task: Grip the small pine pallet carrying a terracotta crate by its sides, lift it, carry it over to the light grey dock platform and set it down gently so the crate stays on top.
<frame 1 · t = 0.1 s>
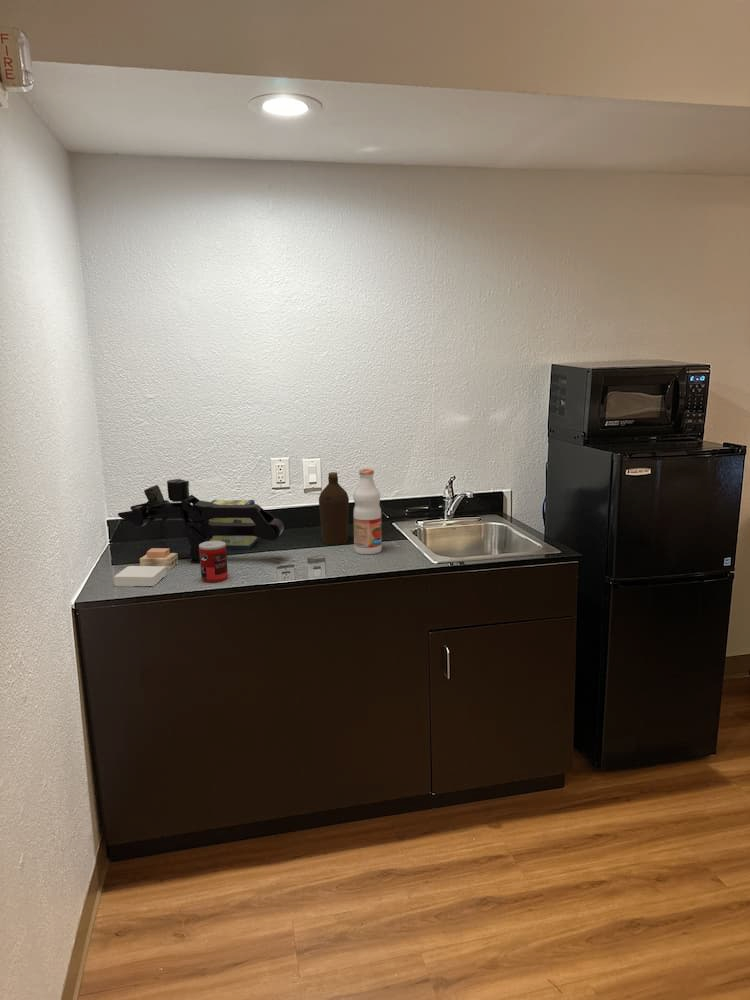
hand: (124, 511, 225), 17 cm above the countertop, tool horizontal, fingers open, 9 cm apart
olive oil: (335, 541, 245), on the countertop
fruit juice: (368, 551, 233), on the countertop
protein box: (232, 545, 242), on the countertop
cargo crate: (158, 556, 220), point 3 cm above the countertop, touching pallet
canned food: (214, 579, 208), on the countertop
dock: (141, 580, 207), on the countertop
pallet: (159, 566, 221), on the countertop, touching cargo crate
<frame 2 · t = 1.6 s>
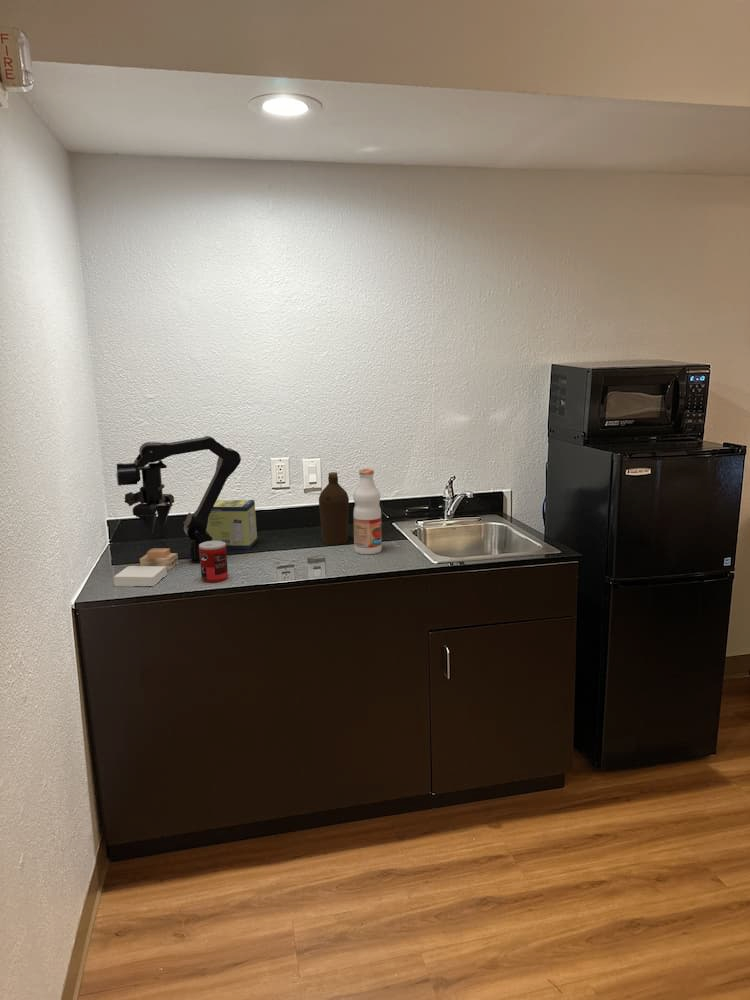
hand: (156, 530, 218), 12 cm above the countertop, tool pointing down, fingers open, 9 cm apart
nothing on the countertop moved.
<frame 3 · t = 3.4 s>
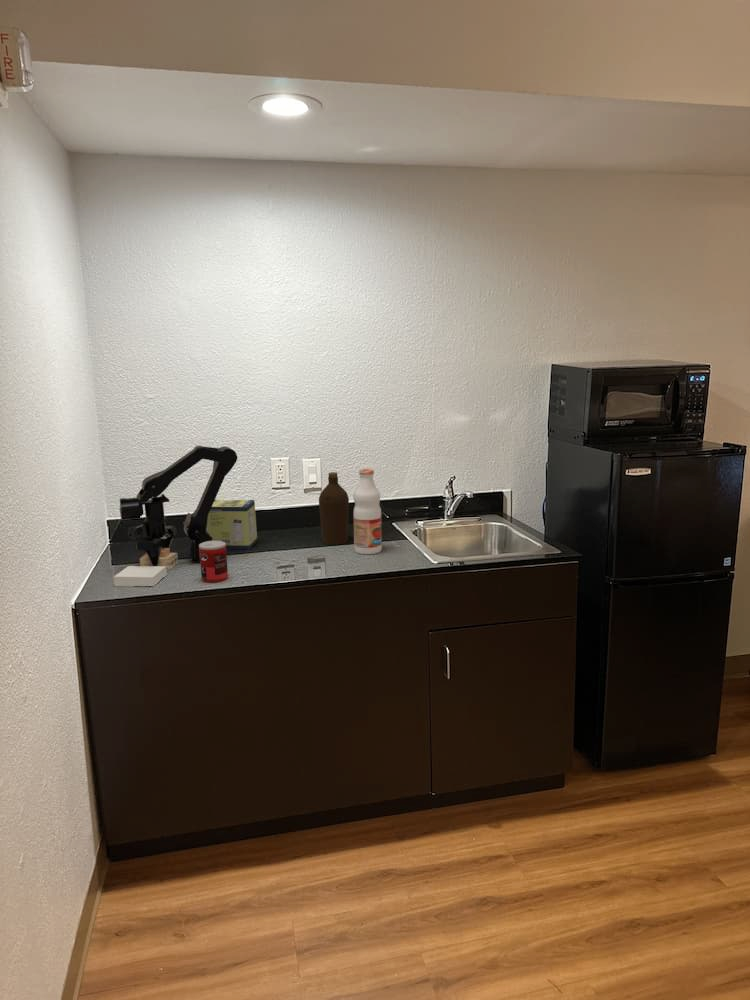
hand: (159, 563, 221), 1 cm above the countertop, tool pointing down, fingers closed on pallet, 6 cm apart
pallet: (159, 566, 221), on the countertop, touching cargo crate, gripper
everything else where it was.
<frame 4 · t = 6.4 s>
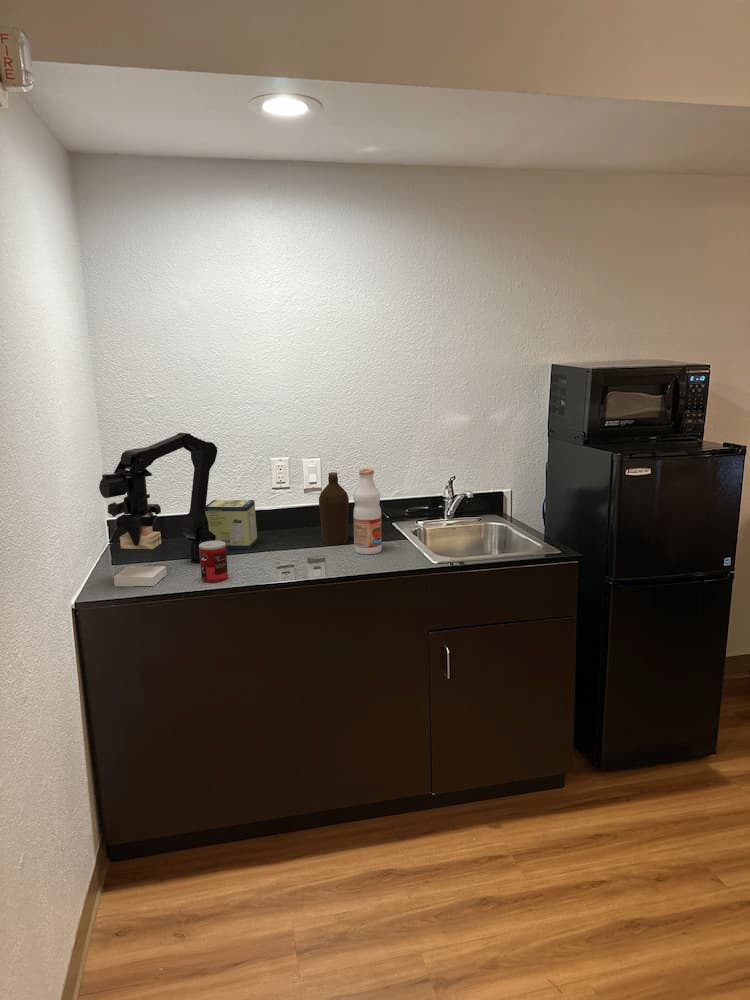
hand: (141, 542, 208), 11 cm above the countertop, tool pointing down, fingers closed on pallet, 6 cm apart
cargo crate: (140, 534, 207), point 14 cm above the countertop, touching pallet
pallet: (141, 545, 208), point 10 cm above the countertop, touching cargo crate, gripper
everything else where it was.
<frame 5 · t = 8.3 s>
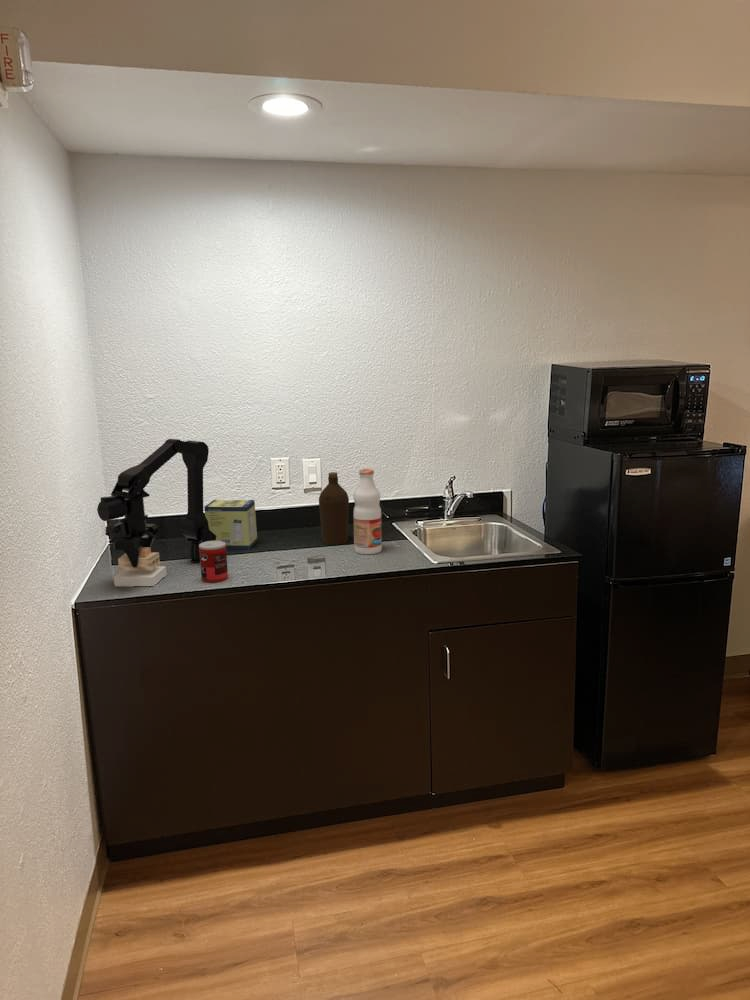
hand: (139, 563, 206), 5 cm above the countertop, tool pointing down, fingers closed on pallet, 6 cm apart
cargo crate: (138, 555, 205), point 8 cm above the countertop, touching pallet
pallet: (139, 566, 206), point 4 cm above the countertop, touching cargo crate, gripper
everything else where it was.
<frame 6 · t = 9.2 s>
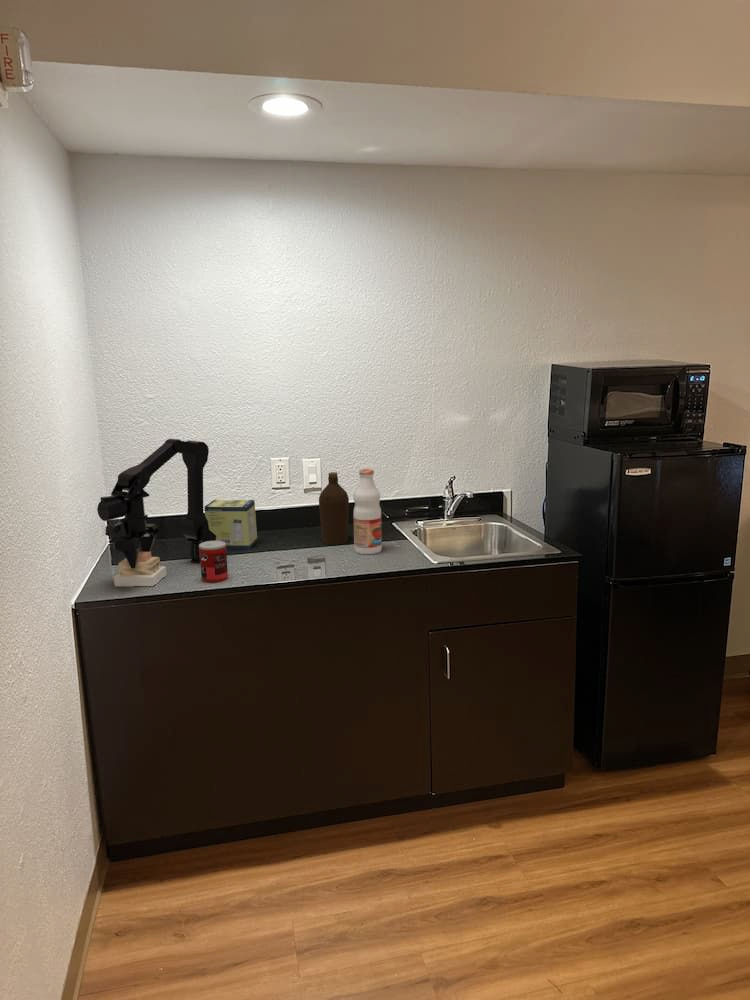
hand: (139, 563, 206), 5 cm above the countertop, tool pointing down, fingers open, 9 cm apart
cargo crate: (139, 560, 206), point 7 cm above the countertop, touching pallet
pallet: (140, 571, 207), point 3 cm above the countertop, touching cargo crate, dock
everything else where it was.
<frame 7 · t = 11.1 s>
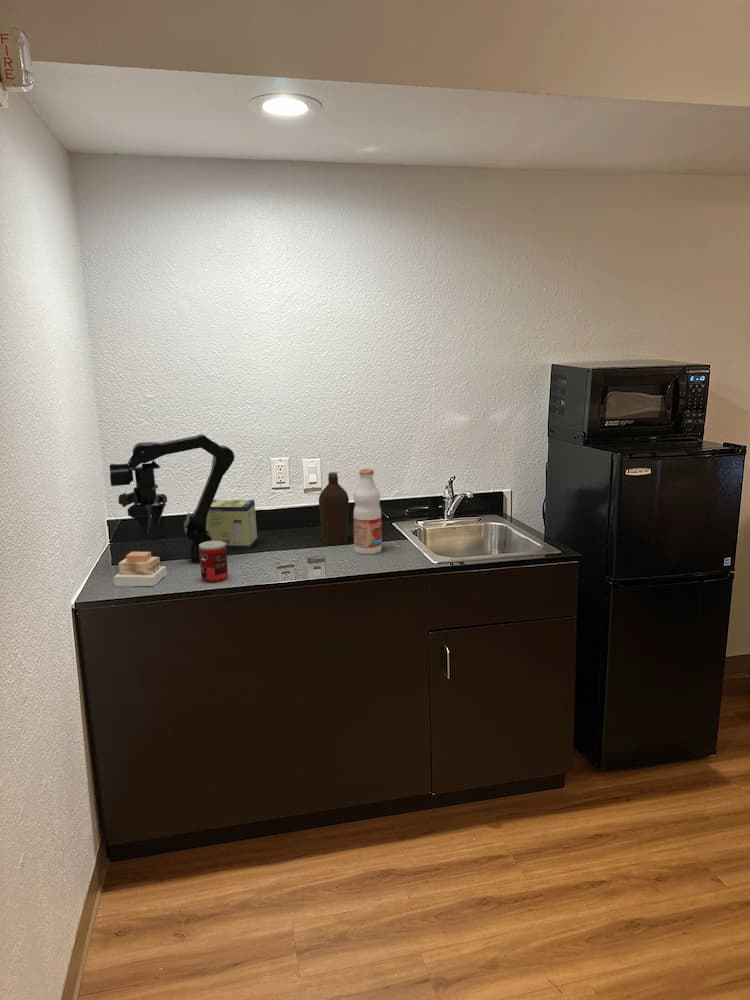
hand: (150, 530, 219), 12 cm above the countertop, tool pointing down, fingers open, 9 cm apart
nothing on the countertop moved.
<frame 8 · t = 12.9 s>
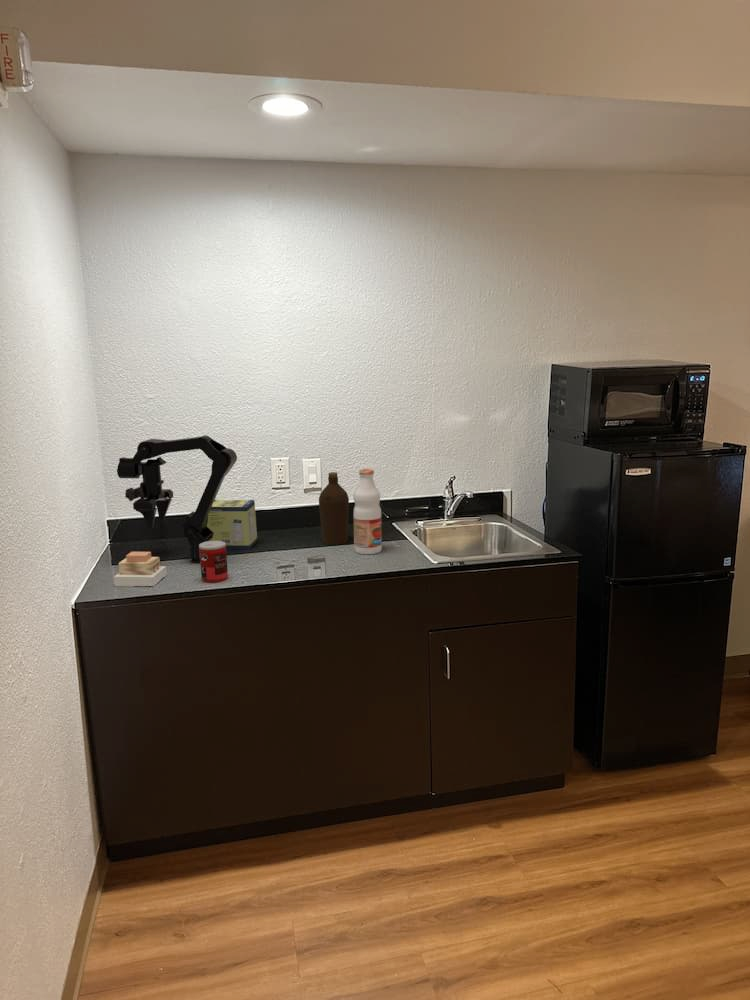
hand: (156, 524, 225), 12 cm above the countertop, tool pointing down, fingers open, 9 cm apart
nothing on the countertop moved.
at the end: pallet inside the target area on the dock (0.1 cm from its centre), point 3.0 cm above the dock's base; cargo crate 0.0 cm off-centre on the pallet, point 3.6 cm above the pallet's base; pallet tilted 0° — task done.
